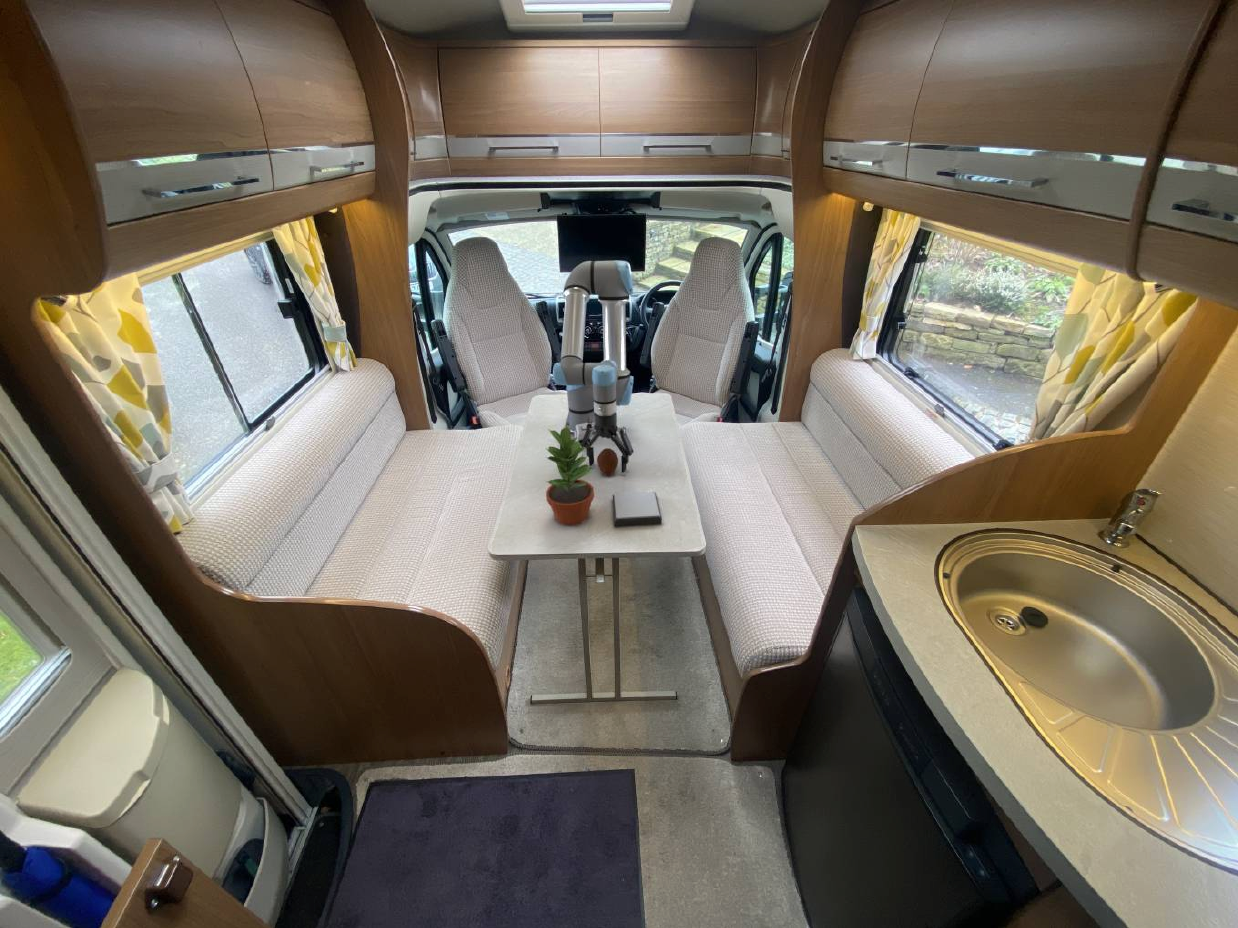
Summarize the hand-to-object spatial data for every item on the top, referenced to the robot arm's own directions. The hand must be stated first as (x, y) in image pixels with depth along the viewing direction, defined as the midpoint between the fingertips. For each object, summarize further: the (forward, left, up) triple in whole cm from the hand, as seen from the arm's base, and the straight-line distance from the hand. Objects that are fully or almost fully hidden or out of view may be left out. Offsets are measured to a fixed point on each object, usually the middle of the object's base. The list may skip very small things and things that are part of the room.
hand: (607, 467), depth 177 cm
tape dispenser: (-16, -18, -1) cm, 24 cm away
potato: (0, 0, -1) cm, 1 cm away
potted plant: (+29, +1, -1) cm, 29 cm away
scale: (+20, +19, -1) cm, 28 cm away
